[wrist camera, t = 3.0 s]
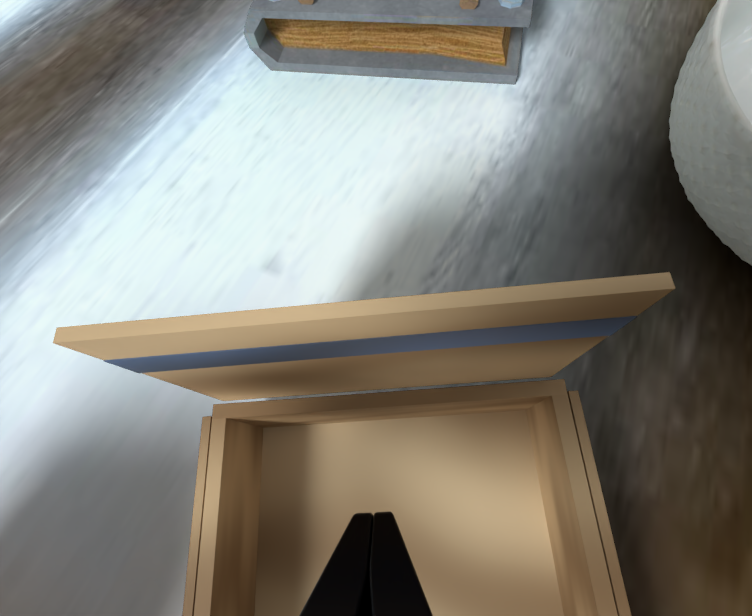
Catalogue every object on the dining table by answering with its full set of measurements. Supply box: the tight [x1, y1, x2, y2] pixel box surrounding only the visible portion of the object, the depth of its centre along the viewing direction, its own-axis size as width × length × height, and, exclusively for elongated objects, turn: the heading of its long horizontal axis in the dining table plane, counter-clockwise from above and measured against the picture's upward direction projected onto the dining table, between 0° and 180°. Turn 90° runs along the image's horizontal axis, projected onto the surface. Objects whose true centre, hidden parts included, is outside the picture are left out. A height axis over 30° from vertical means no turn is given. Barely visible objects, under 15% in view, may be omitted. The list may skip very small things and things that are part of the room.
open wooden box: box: [182, 379, 631, 616], centre depth 13 cm, size 12×13×4 cm
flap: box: [53, 272, 675, 401], centre depth 10 cm, size 7×11×1 cm
